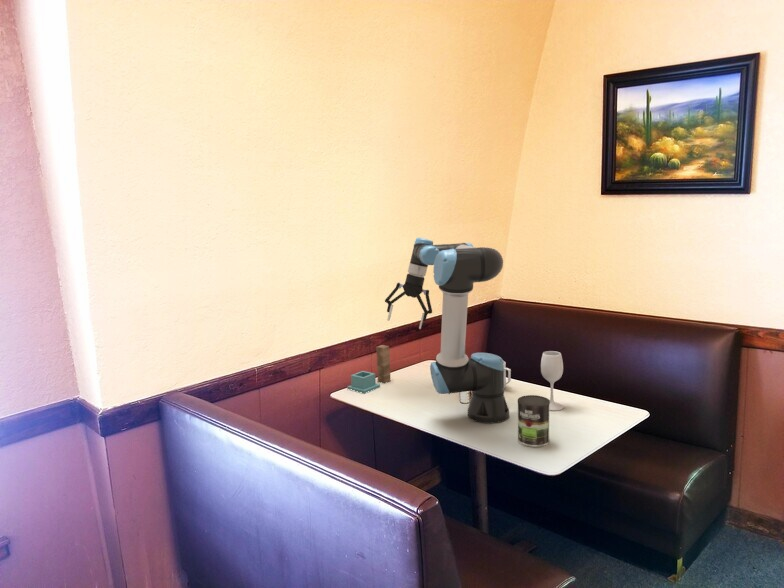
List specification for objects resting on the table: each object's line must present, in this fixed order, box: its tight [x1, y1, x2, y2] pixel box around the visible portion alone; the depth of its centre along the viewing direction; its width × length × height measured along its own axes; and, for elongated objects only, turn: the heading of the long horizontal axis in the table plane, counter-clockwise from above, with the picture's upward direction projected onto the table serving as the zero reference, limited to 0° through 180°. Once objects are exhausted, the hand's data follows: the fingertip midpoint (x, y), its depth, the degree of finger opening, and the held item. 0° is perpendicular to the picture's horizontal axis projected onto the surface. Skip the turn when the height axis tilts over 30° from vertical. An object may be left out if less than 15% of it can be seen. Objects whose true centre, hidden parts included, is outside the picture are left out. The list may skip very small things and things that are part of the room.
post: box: [375, 344, 392, 384], centre depth 267 cm, size 4×4×16 cm
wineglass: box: [540, 350, 565, 411], centre depth 227 cm, size 9×9×21 cm
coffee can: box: [517, 394, 550, 448], centre depth 198 cm, size 10×10×14 cm
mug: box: [503, 360, 512, 389], centre depth 251 cm, size 12×9×11 cm
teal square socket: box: [346, 370, 381, 394], centre depth 259 cm, size 10×10×6 cm
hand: (404, 324), depth 252 cm, fingers open, 13 cm apart
